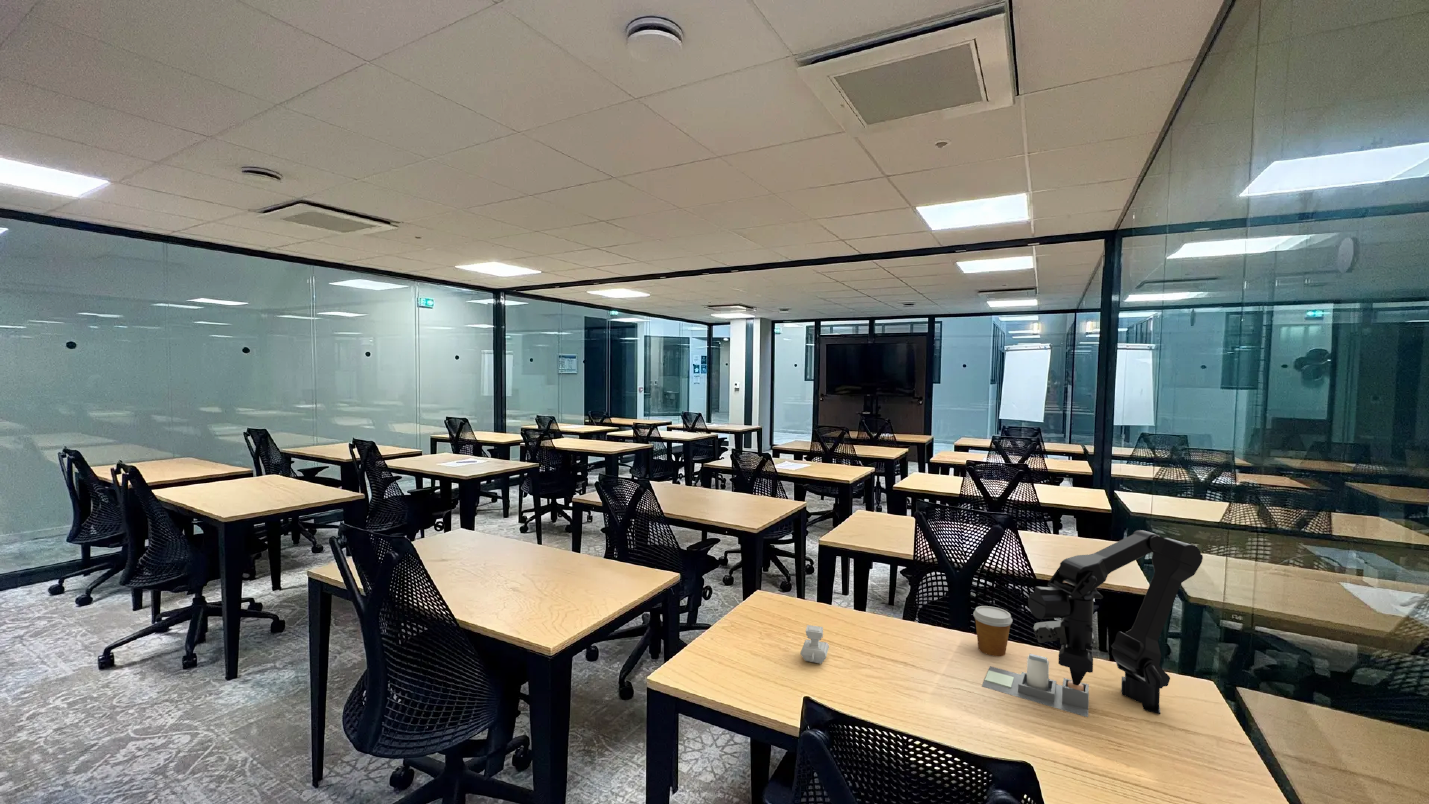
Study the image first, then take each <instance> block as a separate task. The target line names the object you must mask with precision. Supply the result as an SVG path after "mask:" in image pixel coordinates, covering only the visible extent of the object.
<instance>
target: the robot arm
mask: <svg viewBox="0 0 1429 804" xmlns="http://www.w3.org/2000/svg"><path fill="white" fill-rule="evenodd" d="M1201 552H1202V551H1200V548H1199V547H1197V546H1196V545H1194V544H1190V543H1187V542H1184V541H1179V540H1176V539H1174V538H1173V539H1172V538H1170V537H1162V536H1160V535H1158V534H1157V533H1153V532H1150V531H1148V530H1147V531H1146V530H1143V529H1142V530H1141V529H1139V530H1135V531H1134V532H1133V533H1132V534H1131V535H1128V536H1127V537H1124V538H1122V539H1120V540H1119V541H1116V542H1115V543H1112V544H1110V545H1109V546H1107V547H1105V548H1103V549H1101V550H1099V551H1096V552H1094V553H1090V554H1077V555H1074V556H1071V557H1066V558H1065V559H1063V560H1062V561H1061V562H1060V563H1059V567H1058V568H1057V569H1056V571H1055V572H1054V573H1053V575H1052V577H1050V579H1049V580H1048V582H1047V586H1035V587H1034V591H1033V592H1031V593H1030V594H1029V596H1028V598H1027V604H1028V608H1029V611H1030V612H1031V614H1032V616H1034V618H1036V619H1040V620H1042V619H1043V620H1045V619H1060V620H1049V621H1040V622H1036V623H1035V622H1034V626H1033V631H1034V637H1035V638H1037V640H1036V641H1037V642H1038V643H1040V644H1045V643H1046V642H1058V641H1059V644H1060V645H1061V648H1060V649H1059V651H1058V665H1059V666H1062V667H1065V668H1069V672H1070V676H1071V680H1072V682H1073V684H1074V685H1079V684H1080V682H1081V683H1082V680H1083V679H1084V677H1085V675H1087V673H1093V672H1094V656H1093V654H1094V653H1093V646H1094V637H1095V636H1094V633H1093V631H1094V630H1093V627H1094V626H1093V625H1094V621H1093V620H1094V600H1095V599H1097V600H1098V599H1100V600H1101V599H1103V598H1104V595H1102V594H1101V593H1100V592H1099V591H1098V590H1097V588H1098V587H1100V586H1102V584H1104V583H1105V582H1106V581H1107V579H1108V576H1109V574H1111V573H1112V572H1115V571H1116V570H1118V569H1120V568H1122V567H1125V566H1127V565H1129V564H1131V563H1132V562H1135V561H1137V560H1138V559H1140V558H1143V557H1144V556H1147V555H1148V554H1151V553H1152V555H1151V562H1152V567H1153V569H1154V572H1153V573H1154V574H1153V576H1152V579H1151V581H1150V583H1149V586H1148V588H1147V591H1146V592H1145V596H1144V597H1143V600H1142V603H1141V606H1140V608H1139V610H1138V613H1137V615H1136V618H1135V620H1134V622H1133V624H1132V627H1131V629H1129V630H1128V631H1125V632H1122V631H1118V632H1117V633H1116V635H1115V638H1114V639H1115V640H1114V641H1113V643H1112V644H1111V645H1110V646H1111V648H1112V650H1111V655H1112V656H1113V657H1112V658H1113V660H1114V661H1115V664H1116V666H1117V669H1118V670H1120V671H1122V672H1124V676H1121V687H1120V688H1121V689H1120V690H1121V692H1120V693H1121V695H1122V696H1124V697H1126V698H1129V699H1131V700H1133V701H1135V702H1137V703H1140V704H1142V710H1143V711H1146V712H1150V713H1154V714H1158V715H1160V714H1161V708H1160V698H1161V697H1160V695H1161V691H1160V690H1161V689H1163V687H1168V686H1169V683H1170V680H1171V676H1170V675H1168V673H1167V672H1166V671H1165V670H1164V669H1163V668H1162V667H1161V666H1160V663H1161V659H1162V653H1161V648H1160V644H1159V639H1160V636H1161V634H1162V632H1163V629H1164V627H1165V624H1166V623H1167V619H1168V616H1169V614H1170V612H1171V609H1172V607H1173V604H1174V602H1175V600H1176V597H1177V595H1178V592H1179V590H1180V589H1181V585H1182V583H1184V582H1185V581H1187V580H1188V579H1190V578H1192V577H1194V575H1196V573H1197V571H1198V570H1199V568H1200V566H1201V564H1202V563H1203V560H1204V559H1203V558H1204V557H1203V554H1202V553H1201ZM1064 582H1065V583H1064ZM1066 583H1067V584H1066ZM1068 584H1069V585H1068ZM1070 585H1072V586H1074V587H1072V586H1070Z"/></svg>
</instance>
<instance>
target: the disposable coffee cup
mask: <svg viewBox="0 0 1429 804" xmlns="http://www.w3.org/2000/svg"><path fill="white" fill-rule="evenodd" d="M972 615H973V617H974V621H975V629H976V630H975V631H976V638H977V646H978V650H979V651H980V653H981V652H982V653H983V654H985V655H989V656H993V657H1003V656H1005V655H1006V654H1007V653H1006V652H1007V646H1008V641H1009V636H1010V635H1009V634H1010V629H1011V625H1012V623H1013V618H1012V615H1011V613H1010V612H1008V611H1007V610H1005V609H1002V608H1000V607H995V606H990V605H989V606H988V605H981V606H980V605H979V606H976V607H975V610H974V611H973V614H972Z"/></svg>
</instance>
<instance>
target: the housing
mask: <svg viewBox="0 0 1429 804" xmlns="http://www.w3.org/2000/svg"><path fill="white" fill-rule="evenodd" d="M1062 679H1063V680H1062V685H1061V684H1057V680H1054V679H1051V678H1049V680H1048V691H1045V690H1042V689H1038V688H1035V687H1031V686H1027V672H1025V671H1021V673H1017V672H1013V671H1009V670H1007V669H1002V668H998V667H995V666H991V665H990V666H988V669H987V672H986V674H985V677H984V679H983V682H982V684H981V687H982V688H985V689H988V690H989V689H990V690H993V691H997V692H1000V693H1004V694H1006V695H1010V696H1013V697H1016V698H1020V699H1024V700H1027V701H1030V702H1032V703H1037V704H1040V705H1043V706H1048V707H1050V708H1055V709H1057V710H1061V711H1065V712H1067V713H1072V714H1075V715H1078V716H1081V717H1086V718H1088V717H1089V704H1090V703H1089V698H1090V697H1089V696H1090V693H1089V692H1090V690H1089V689H1090V688H1089V687H1090V686H1089V685H1090V684H1088V683H1084V682H1082V681H1081V682H1080V683H1081V684H1083V686H1084V690H1083V691H1080V690H1077V689H1073V688H1069V687H1068V681H1072V679H1070V678H1066V677H1063V678H1062Z"/></svg>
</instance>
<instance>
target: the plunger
mask: <svg viewBox="0 0 1429 804" xmlns="http://www.w3.org/2000/svg"><path fill="white" fill-rule="evenodd" d="M1081 683H1082V682H1081ZM1081 683H1080V684H1079V685H1074V684H1073V682H1072V681H1068V687H1069V688H1073V689H1077V690H1080V691H1083V690H1084V686H1083V684H1081Z"/></svg>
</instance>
